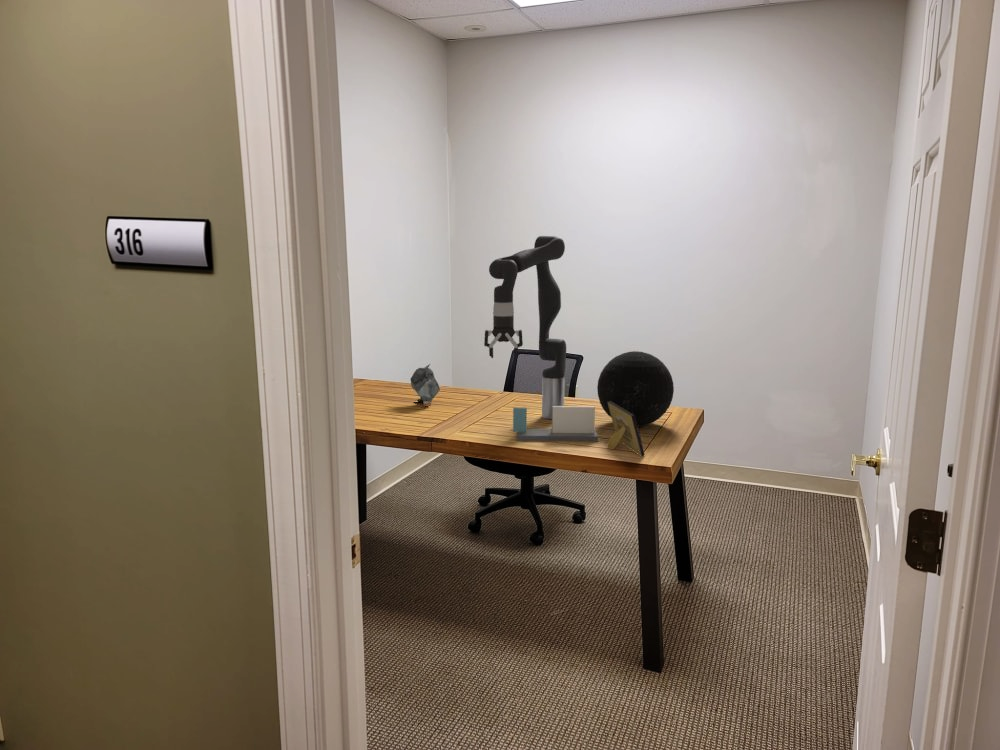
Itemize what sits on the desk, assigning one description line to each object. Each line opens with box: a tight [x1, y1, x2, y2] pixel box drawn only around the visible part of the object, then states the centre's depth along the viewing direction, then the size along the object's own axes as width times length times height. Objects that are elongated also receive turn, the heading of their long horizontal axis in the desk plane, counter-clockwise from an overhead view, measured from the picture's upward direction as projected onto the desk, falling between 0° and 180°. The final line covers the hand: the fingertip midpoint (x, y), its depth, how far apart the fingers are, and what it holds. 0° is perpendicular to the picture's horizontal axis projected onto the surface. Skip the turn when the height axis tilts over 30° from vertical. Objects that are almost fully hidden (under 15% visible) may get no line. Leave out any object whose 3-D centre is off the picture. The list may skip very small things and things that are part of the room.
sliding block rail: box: [516, 405, 599, 443], centre depth 263 cm, size 10×30×12 cm, turn 88°
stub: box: [512, 407, 528, 433], centre depth 263 cm, size 1×5×9 cm, turn 88°
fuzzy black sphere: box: [596, 350, 675, 427], centre depth 280 cm, size 30×30×30 cm
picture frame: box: [606, 401, 646, 457], centre depth 249 cm, size 23×9×15 cm, turn 12°
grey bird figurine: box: [410, 363, 441, 406], centre depth 317 cm, size 14×15×18 cm
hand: (503, 357), depth 262 cm, fingers open, 8 cm apart
